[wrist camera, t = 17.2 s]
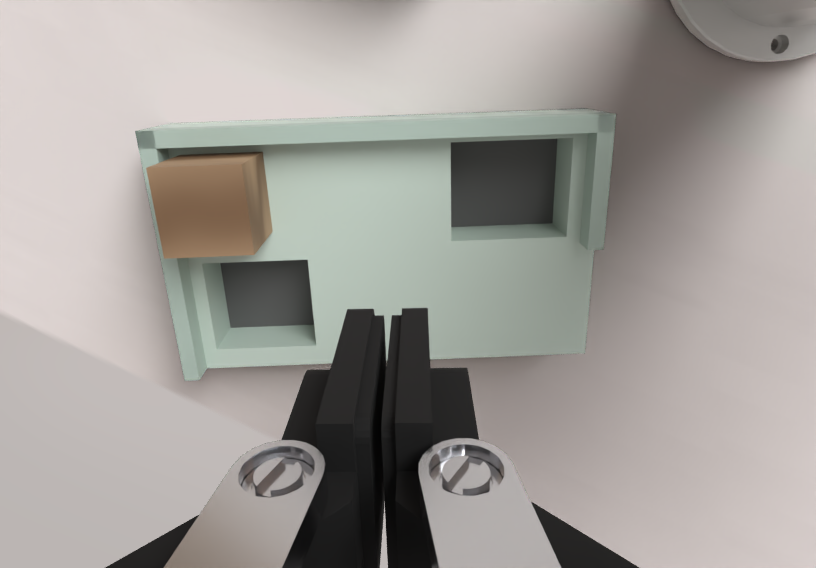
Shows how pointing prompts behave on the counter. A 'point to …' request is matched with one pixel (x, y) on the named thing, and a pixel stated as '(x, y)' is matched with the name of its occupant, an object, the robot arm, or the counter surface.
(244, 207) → the walnut block
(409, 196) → the tray
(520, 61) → the counter surface
